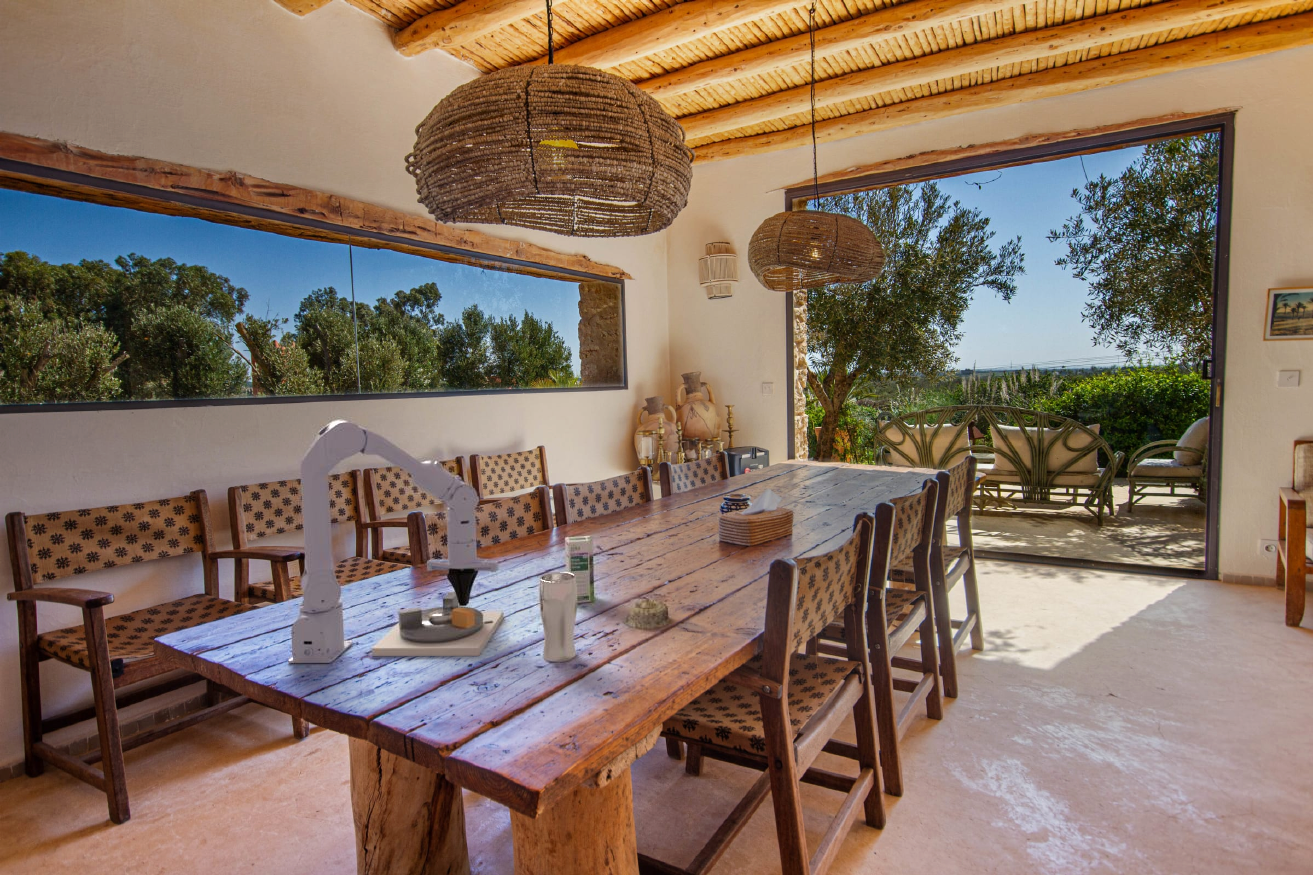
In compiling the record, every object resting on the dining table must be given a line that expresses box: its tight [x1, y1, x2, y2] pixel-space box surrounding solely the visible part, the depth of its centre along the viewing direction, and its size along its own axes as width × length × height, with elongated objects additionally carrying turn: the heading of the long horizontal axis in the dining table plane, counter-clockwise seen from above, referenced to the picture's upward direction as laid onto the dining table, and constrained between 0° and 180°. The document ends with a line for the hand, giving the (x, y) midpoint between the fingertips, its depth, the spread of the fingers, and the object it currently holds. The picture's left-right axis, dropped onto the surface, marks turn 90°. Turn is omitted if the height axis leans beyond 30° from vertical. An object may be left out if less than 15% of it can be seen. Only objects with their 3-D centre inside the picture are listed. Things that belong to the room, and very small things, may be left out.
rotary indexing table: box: [398, 591, 483, 643], centre depth 138 cm, size 16×16×5 cm
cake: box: [623, 598, 671, 630], centre depth 146 cm, size 10×10×5 cm
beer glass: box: [538, 571, 578, 663], centre depth 128 cm, size 7×7×15 cm
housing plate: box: [371, 610, 504, 657], centre depth 139 cm, size 20×20×2 cm
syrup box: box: [564, 535, 595, 604], centre depth 160 cm, size 6×6×14 cm
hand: (464, 604), depth 144 cm, fingers closed
